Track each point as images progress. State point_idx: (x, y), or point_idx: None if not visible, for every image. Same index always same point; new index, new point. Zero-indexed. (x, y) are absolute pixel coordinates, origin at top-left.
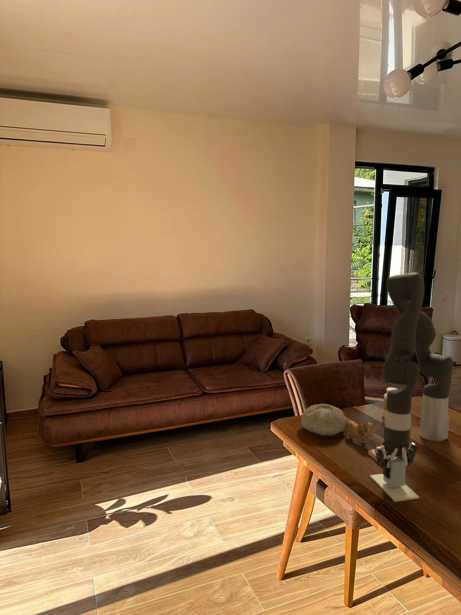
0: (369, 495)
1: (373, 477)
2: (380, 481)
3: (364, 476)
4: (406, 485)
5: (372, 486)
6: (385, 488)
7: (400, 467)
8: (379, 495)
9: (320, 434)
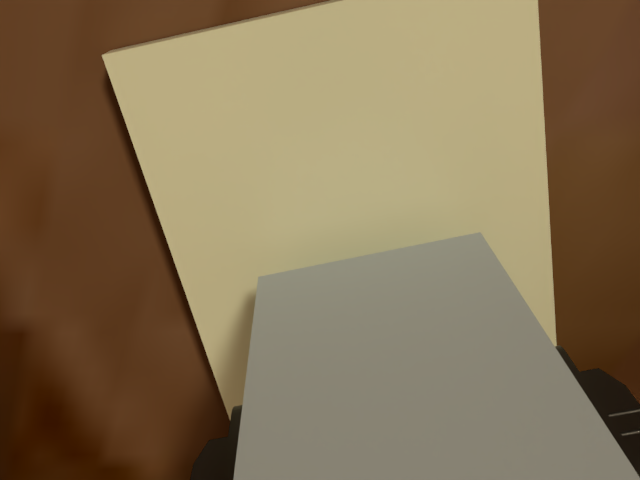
0: (30, 460)
1: (145, 129)
2: (227, 237)
3: (19, 29)
4: (553, 323)
5: (100, 297)
6: (244, 387)
7: None
8: (146, 457)
9: None
